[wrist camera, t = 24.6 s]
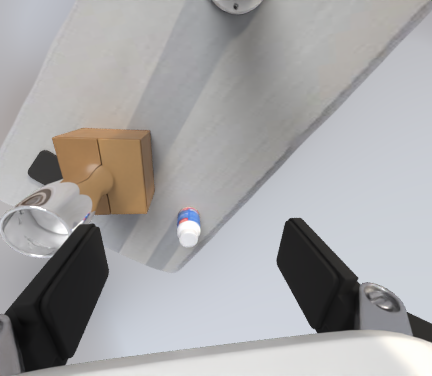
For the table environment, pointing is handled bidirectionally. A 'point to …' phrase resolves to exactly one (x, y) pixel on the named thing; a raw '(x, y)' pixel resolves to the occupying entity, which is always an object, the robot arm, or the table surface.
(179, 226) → the pill bottle
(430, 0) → the table surface
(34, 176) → the phone
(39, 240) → the beer glass
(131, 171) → the flap
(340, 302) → the robot arm
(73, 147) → the carton
